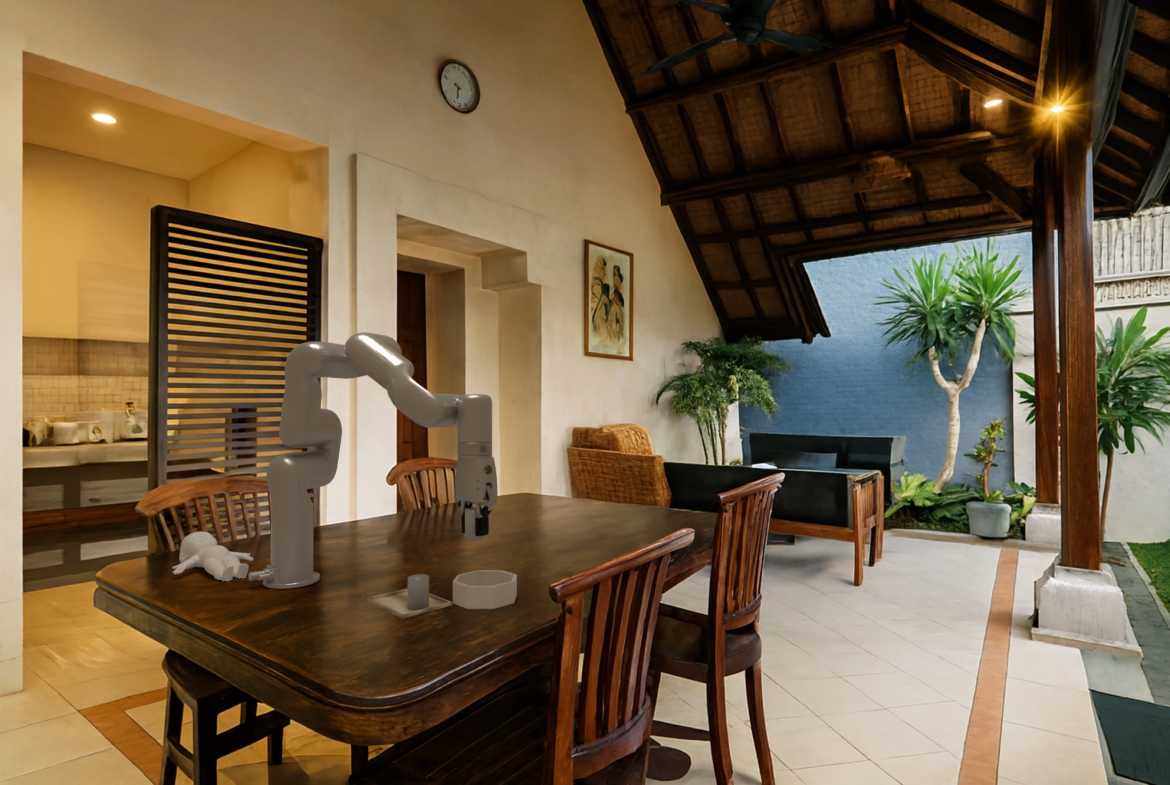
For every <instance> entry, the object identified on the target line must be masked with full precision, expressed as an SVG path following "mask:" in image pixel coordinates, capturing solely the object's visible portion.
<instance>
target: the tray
mask: <svg viewBox="0 0 1170 785" xmlns="http://www.w3.org/2000/svg"><path fill="white" fill-rule="evenodd" d="M364 601H365V602H366V603H368V604H370V605H372V606H374V607H376V608H379V609H381V610H382V611H386V612H388V613H389V614H392V615H394V616H396V617H398V618H401V619H407V618H411V617H414V616H417V615H420V614H424V613H425V614H426V613H428V612H429V613H430V612H432V611H436V610H440V609H443V608H447V607H452V606H454V603H453V601H451V600H449V599H445V598H443V597H441V596H438V595H435V594H433V593H430V592H429V607H428V608H425V609H421V610H409V609H408V588H405V589H399V590H395V591H391V592H390V591H389V592H387V593H384V594H383V593H382V594H377V595H373V596H369V597H365V598H364Z"/></svg>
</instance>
